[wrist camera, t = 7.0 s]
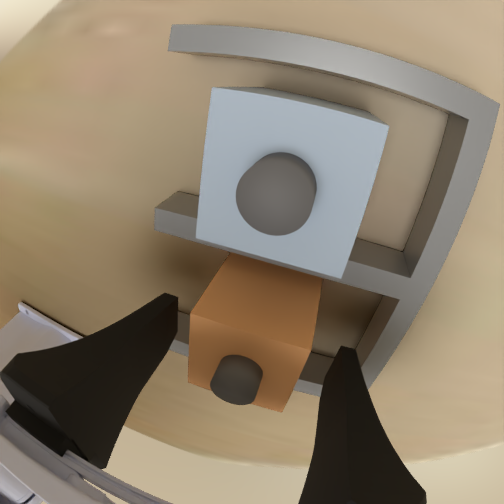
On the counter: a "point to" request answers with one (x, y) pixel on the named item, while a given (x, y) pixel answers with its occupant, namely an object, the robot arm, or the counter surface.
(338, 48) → the e-shaped shelf rack
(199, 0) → the counter surface
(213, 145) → the seated plug
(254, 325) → the orange plug
